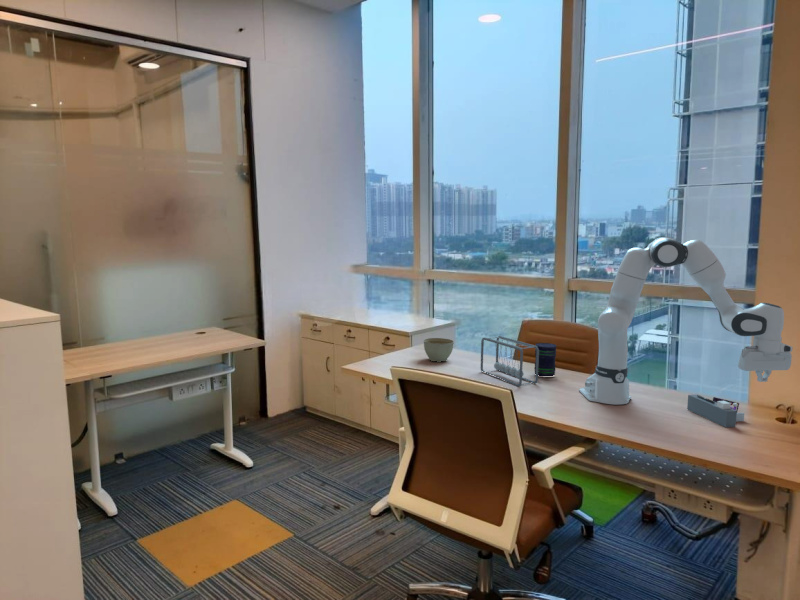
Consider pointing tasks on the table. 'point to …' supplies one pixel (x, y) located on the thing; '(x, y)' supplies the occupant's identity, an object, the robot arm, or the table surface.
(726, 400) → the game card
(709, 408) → the charging dock
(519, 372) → the newton's cradle
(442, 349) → the planter bowl
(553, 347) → the storage jar
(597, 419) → the table surface
